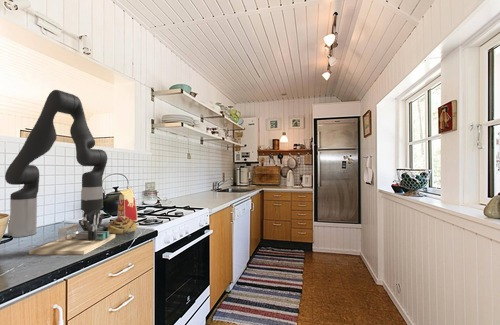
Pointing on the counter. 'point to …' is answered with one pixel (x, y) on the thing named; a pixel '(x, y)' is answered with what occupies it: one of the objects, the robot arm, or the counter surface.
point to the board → (71, 246)
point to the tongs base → (87, 232)
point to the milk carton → (127, 204)
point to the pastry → (122, 225)
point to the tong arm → (85, 236)
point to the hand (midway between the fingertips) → (91, 240)
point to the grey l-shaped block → (63, 231)
